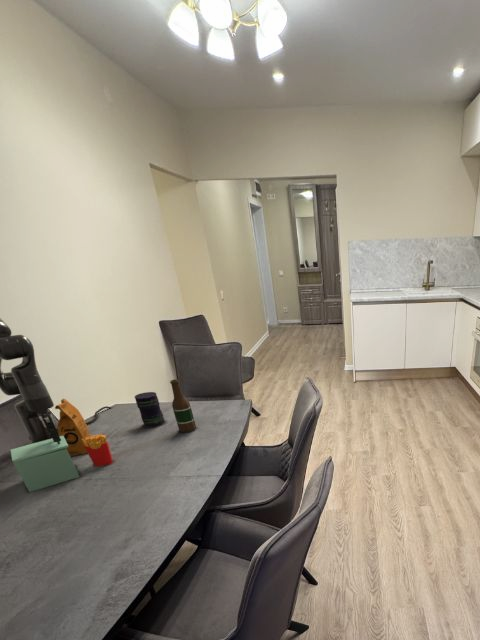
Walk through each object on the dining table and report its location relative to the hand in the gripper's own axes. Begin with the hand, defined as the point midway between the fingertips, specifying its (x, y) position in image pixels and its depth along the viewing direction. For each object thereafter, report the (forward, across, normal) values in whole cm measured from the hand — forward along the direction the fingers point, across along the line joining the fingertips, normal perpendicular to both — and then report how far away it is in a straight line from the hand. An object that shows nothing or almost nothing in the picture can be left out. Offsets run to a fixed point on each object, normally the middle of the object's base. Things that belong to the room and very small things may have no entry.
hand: (56, 439), depth 146 cm
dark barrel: (+15, -32, +40) cm, 54 cm away
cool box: (+14, 0, -6) cm, 16 cm away
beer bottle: (+15, -12, +50) cm, 53 cm away
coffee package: (+15, -23, +6) cm, 28 cm away
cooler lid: (+2, 0, -6) cm, 6 cm away
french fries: (+15, 0, +11) cm, 19 cm away
